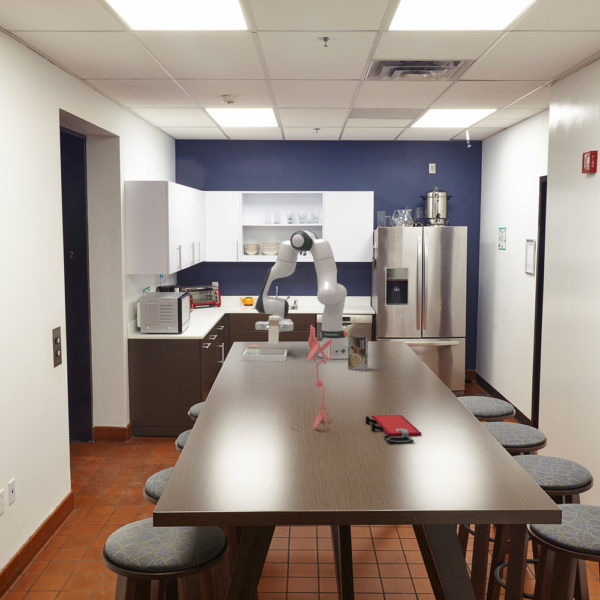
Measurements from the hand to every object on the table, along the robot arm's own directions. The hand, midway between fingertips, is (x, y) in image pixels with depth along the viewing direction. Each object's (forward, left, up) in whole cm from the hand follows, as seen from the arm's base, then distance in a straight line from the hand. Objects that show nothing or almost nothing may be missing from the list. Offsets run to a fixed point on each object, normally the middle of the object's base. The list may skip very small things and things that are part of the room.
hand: (273, 328), depth 343 cm
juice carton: (0, -1, -8) cm, 8 cm away
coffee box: (-43, +20, -17) cm, 50 cm away
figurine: (-20, +115, -17) cm, 118 cm away
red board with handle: (-48, +121, -17) cm, 131 cm away
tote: (+4, 0, -17) cm, 17 cm away
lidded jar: (+10, +2, -16) cm, 19 cm away
